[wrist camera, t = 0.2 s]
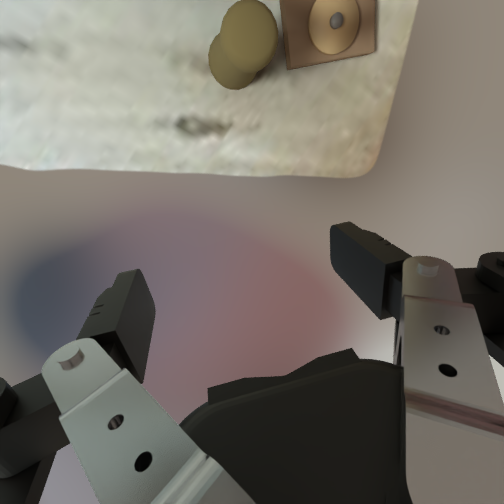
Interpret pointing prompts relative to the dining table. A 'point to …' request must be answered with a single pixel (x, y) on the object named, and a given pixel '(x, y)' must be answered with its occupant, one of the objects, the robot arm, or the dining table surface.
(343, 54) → the board
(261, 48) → the cork
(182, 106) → the dining table surface
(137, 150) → the dining table surface
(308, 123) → the dining table surface
